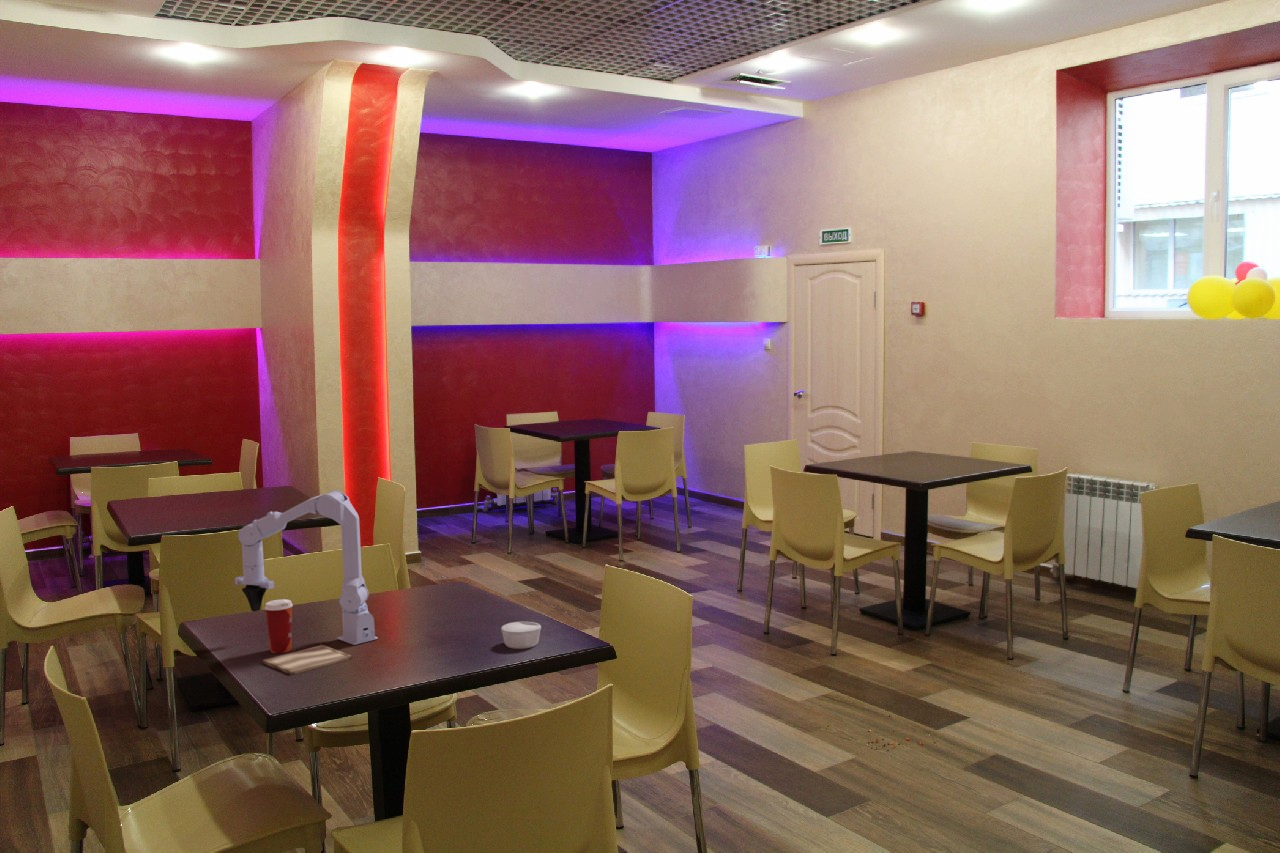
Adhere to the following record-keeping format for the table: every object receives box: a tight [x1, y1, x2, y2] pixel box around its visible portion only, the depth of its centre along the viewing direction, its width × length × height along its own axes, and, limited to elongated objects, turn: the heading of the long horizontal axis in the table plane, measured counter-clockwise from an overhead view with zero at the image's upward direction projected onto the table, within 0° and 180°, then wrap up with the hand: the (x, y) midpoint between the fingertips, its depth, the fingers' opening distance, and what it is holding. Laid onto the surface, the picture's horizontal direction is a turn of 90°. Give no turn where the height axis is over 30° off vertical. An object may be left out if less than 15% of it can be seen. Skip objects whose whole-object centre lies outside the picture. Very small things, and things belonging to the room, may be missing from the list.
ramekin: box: [500, 621, 542, 650], centre depth 299 cm, size 11×11×5 cm
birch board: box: [262, 644, 353, 676], centre depth 288 cm, size 16×18×1 cm
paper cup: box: [263, 598, 294, 654], centre depth 298 cm, size 8×8×14 cm
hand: (255, 610), depth 307 cm, fingers closed
